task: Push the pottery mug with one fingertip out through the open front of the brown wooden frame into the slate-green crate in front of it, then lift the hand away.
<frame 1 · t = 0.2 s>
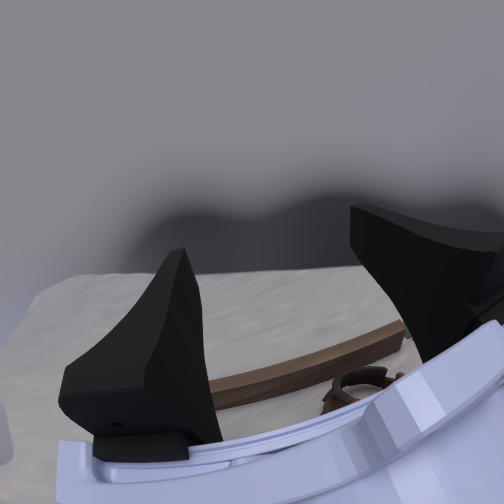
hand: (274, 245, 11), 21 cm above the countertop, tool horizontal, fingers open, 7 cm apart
brown wooden frame: (315, 455, 20), on the countertop
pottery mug: (371, 434, 20), on the countertop
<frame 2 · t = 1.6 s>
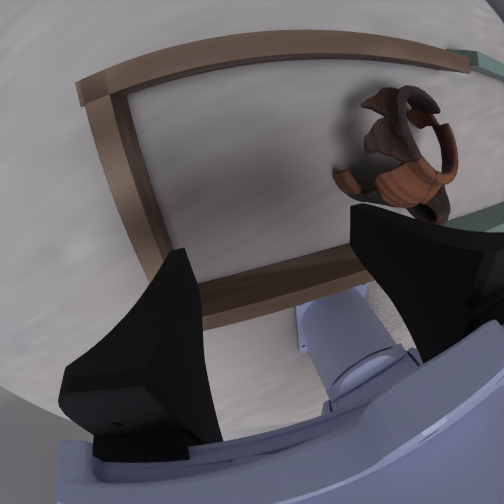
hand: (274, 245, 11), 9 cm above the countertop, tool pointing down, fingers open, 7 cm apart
brown wooden frame: (327, 161, 20), on the countertop
green crate: (489, 145, 22), on the countertop
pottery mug: (381, 154, 21), on the countertop
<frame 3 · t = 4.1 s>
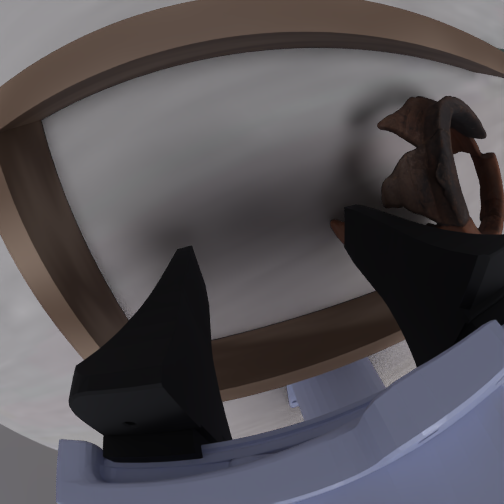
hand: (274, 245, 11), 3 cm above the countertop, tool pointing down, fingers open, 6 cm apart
brown wooden frame: (330, 200, 14), on the countertop
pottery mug: (398, 189, 15), on the countertop, touching gripper
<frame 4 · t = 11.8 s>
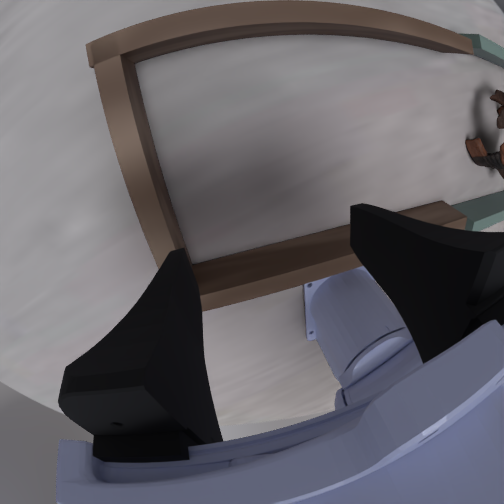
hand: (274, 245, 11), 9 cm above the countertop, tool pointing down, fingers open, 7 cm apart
brown wooden frame: (337, 134, 19), on the countertop
green crate: (494, 130, 21), on the countertop
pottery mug: (484, 133, 21), on the countertop
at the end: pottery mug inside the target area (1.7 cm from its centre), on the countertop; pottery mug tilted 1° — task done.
